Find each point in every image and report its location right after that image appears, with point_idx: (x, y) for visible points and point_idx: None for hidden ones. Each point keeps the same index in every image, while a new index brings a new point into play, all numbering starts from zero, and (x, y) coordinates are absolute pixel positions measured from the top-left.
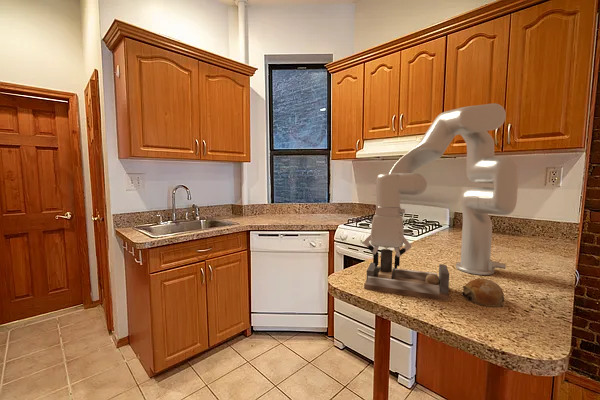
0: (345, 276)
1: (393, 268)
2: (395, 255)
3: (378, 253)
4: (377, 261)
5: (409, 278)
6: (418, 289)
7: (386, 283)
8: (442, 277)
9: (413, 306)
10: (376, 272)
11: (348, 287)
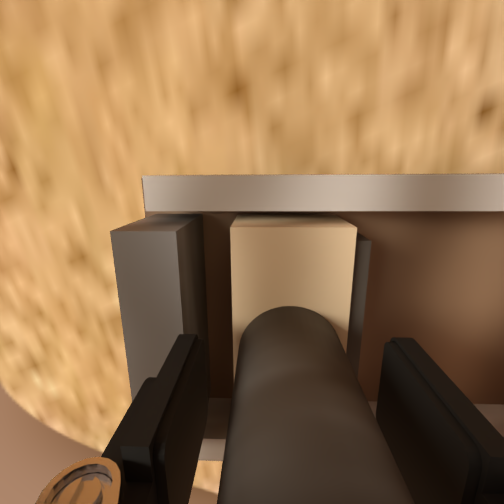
0: (6, 251)
1: (354, 245)
2: (468, 491)
3: (165, 451)
4: (196, 444)
5: (459, 211)
6: None
7: None
8: None
9: None
10: (199, 221)
11: (93, 404)
